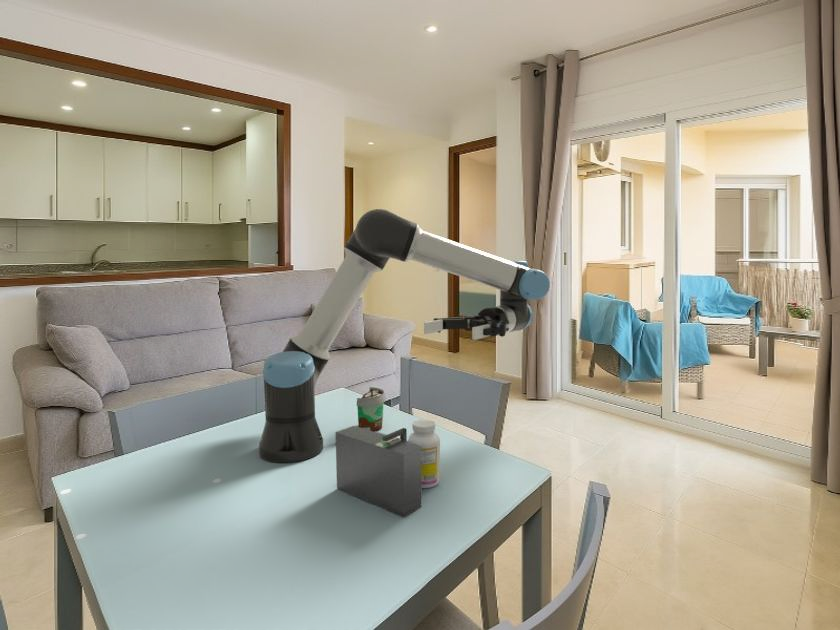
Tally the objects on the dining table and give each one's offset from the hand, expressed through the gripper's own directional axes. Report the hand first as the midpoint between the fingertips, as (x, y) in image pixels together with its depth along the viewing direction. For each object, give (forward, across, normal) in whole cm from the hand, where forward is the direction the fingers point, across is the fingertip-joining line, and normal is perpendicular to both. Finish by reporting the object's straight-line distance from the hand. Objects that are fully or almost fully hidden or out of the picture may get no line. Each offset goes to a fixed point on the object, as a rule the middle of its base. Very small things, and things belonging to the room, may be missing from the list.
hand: (448, 330), depth 115 cm
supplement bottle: (+14, -4, -30) cm, 34 cm away
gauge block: (+25, -1, -30) cm, 39 cm away
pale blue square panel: (+23, -1, -29) cm, 37 cm away
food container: (-3, +27, -30) cm, 41 cm away
